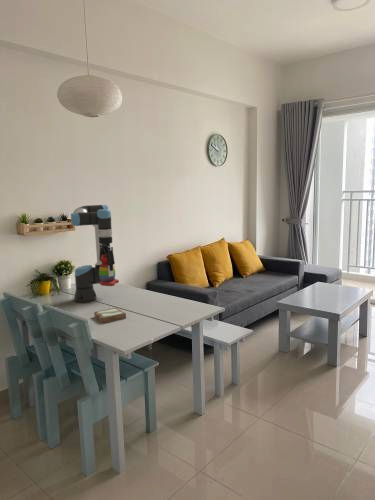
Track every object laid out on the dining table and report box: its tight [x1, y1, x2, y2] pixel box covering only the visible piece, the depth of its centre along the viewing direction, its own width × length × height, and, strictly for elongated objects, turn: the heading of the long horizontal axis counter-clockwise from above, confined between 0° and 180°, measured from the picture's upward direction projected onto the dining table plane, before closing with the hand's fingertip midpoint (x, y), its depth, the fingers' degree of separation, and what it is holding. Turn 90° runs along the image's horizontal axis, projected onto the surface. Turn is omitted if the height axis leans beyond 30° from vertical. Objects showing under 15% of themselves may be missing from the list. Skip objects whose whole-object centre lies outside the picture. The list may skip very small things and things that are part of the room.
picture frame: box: [94, 307, 127, 324], centre depth 228 cm, size 14×14×3 cm
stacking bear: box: [99, 254, 120, 287], centre depth 223 cm, size 11×10×18 cm
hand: (107, 274), depth 223 cm, fingers closed on stacking bear, 9 cm apart
